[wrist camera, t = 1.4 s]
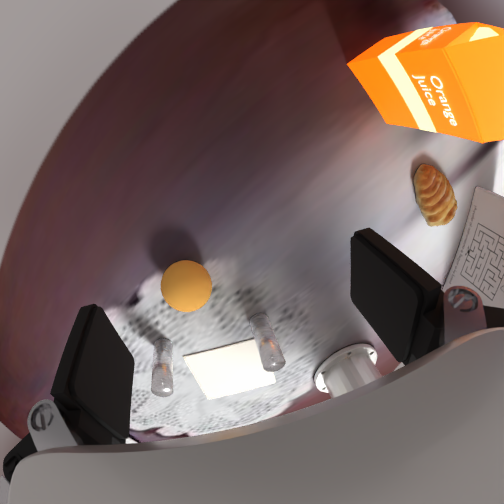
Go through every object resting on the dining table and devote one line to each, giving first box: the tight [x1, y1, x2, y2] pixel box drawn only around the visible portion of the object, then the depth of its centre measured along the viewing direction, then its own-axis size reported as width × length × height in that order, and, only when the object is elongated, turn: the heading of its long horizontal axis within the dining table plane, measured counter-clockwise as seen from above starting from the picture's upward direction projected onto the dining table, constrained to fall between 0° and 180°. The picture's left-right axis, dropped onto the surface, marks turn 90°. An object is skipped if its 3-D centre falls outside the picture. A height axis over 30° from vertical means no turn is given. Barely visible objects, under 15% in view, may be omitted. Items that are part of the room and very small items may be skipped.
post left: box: [151, 338, 173, 397], centre depth 33 cm, size 3×3×8 cm
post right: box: [250, 313, 285, 372], centre depth 34 cm, size 3×3×8 cm
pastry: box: [413, 164, 457, 226], centre depth 32 cm, size 9×7×4 cm
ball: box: [161, 260, 212, 312], centre depth 29 cm, size 6×6×6 cm
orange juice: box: [347, 22, 504, 144], centre depth 17 cm, size 8×9×20 cm
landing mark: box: [183, 339, 276, 400], centre depth 41 cm, size 12×12×1 cm
